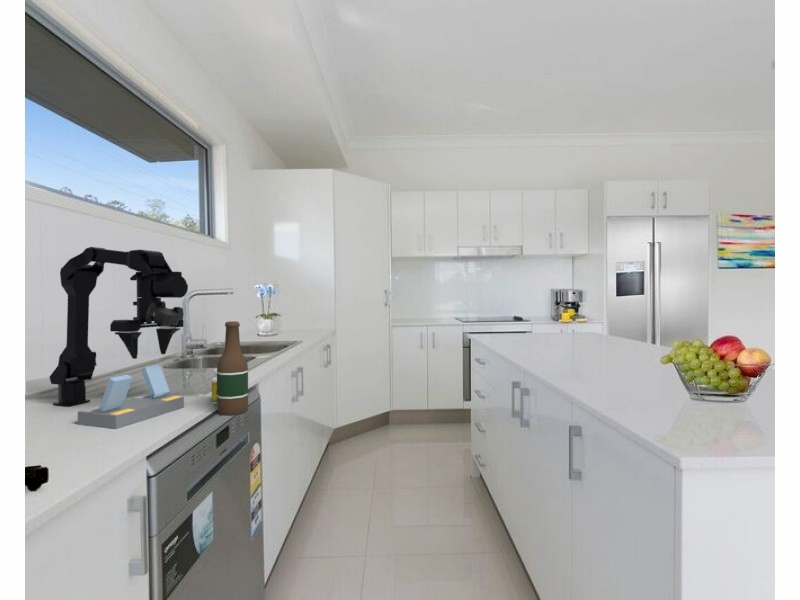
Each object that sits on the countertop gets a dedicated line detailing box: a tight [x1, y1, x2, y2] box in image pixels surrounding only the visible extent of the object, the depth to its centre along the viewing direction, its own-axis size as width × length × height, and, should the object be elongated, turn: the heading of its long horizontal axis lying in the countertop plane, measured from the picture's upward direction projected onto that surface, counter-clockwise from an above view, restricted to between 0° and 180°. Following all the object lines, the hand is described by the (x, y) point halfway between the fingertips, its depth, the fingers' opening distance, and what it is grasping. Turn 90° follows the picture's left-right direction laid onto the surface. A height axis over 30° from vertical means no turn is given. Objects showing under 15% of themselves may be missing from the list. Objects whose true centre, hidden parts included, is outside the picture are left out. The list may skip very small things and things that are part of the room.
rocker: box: [140, 364, 171, 398], centre depth 126 cm, size 2×5×9 cm, turn 162°
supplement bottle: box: [211, 368, 217, 406], centre depth 133 cm, size 5×5×10 cm
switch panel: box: [77, 393, 185, 430], centre depth 119 cm, size 12×21×3 cm, turn 162°
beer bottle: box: [216, 320, 249, 417], centre depth 122 cm, size 8×8×24 cm
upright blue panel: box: [99, 374, 134, 412], centre depth 111 cm, size 2×5×9 cm, turn 162°
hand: (149, 356), depth 123 cm, fingers open, 9 cm apart
